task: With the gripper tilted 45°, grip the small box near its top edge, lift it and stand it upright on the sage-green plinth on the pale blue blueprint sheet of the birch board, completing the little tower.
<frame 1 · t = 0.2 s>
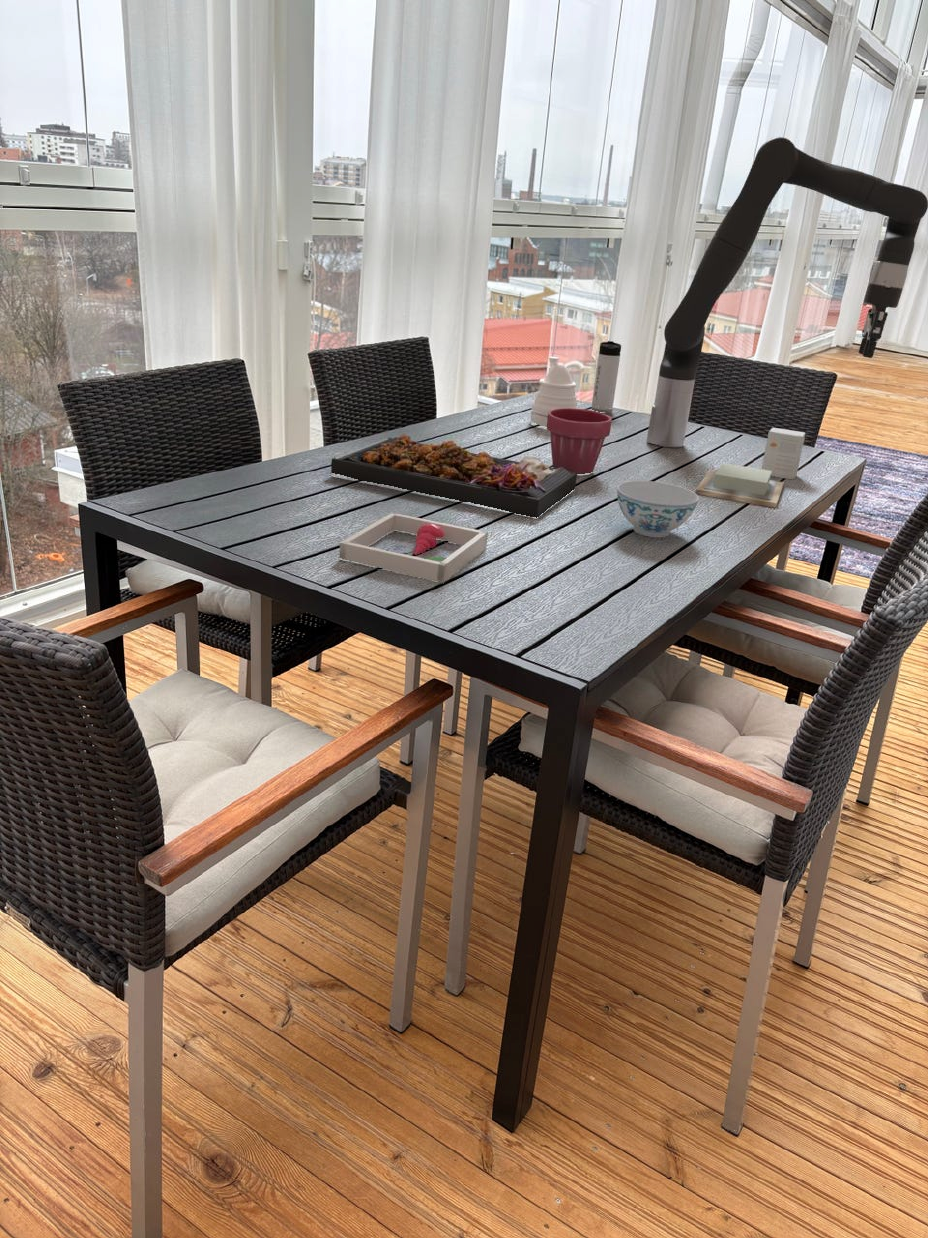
hand: (864, 355, 226), 28 cm above the table, tool pointing down, fingers open, 8 cm apart
travel mug: (601, 412, 284), on the table
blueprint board: (740, 489, 212), on the table
plant pot: (572, 471, 216), on the table
food platter: (454, 487, 199), on the table
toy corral: (415, 554, 157), on the table
toy pieces: (415, 557, 157), resting in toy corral
chinaware: (651, 532, 179), on the table
small box: (778, 475, 229), on the table
plinth: (742, 479, 211), on the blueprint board, point 2 cm above the table
honey pot: (553, 426, 260), on the table
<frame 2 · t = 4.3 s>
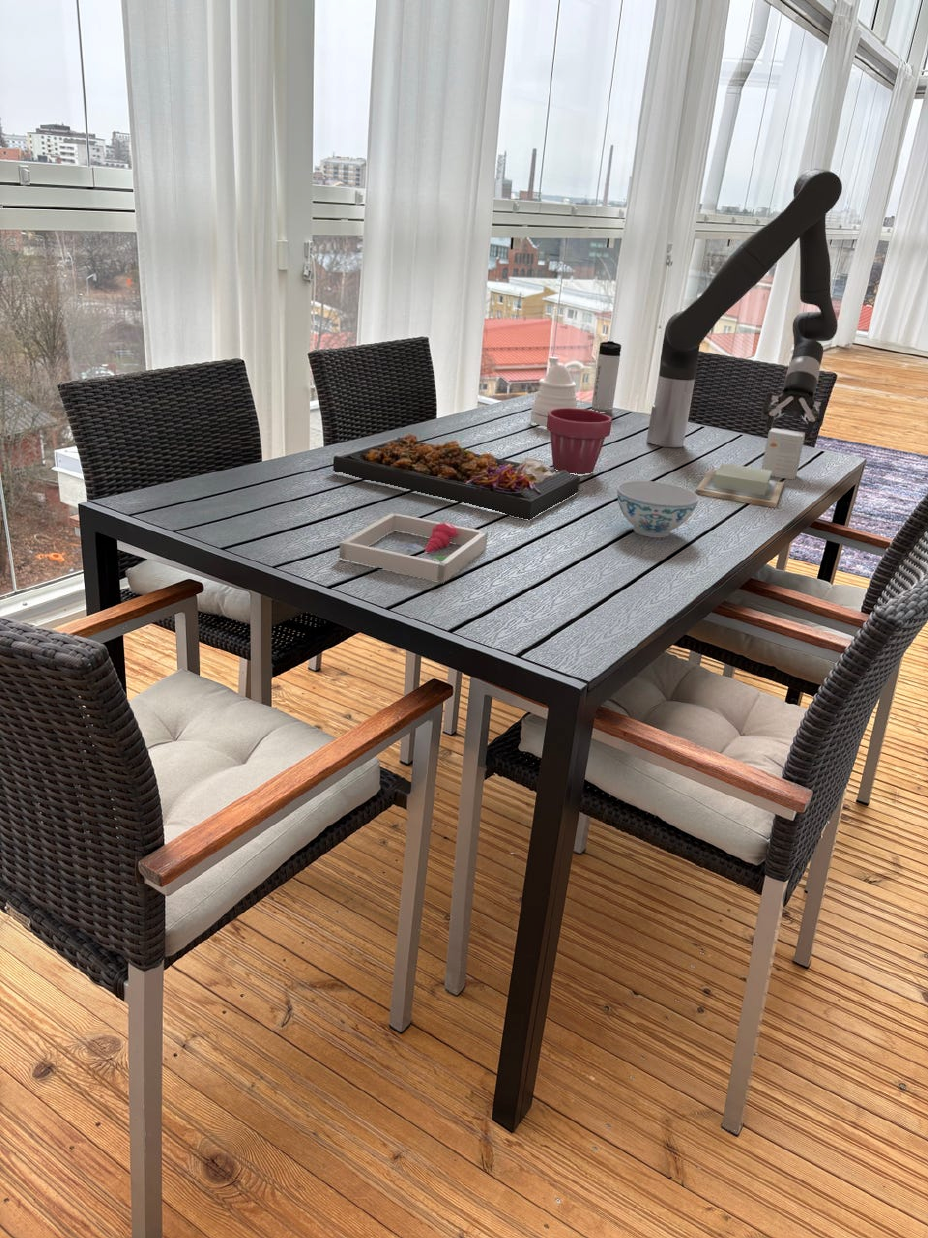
hand: (787, 434, 227), 9 cm above the table, tool tilted 45°, fingers open, 8 cm apart
toy pieces: (426, 555, 159), resting in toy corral
small box: (778, 475, 229), on the table, touching gripper
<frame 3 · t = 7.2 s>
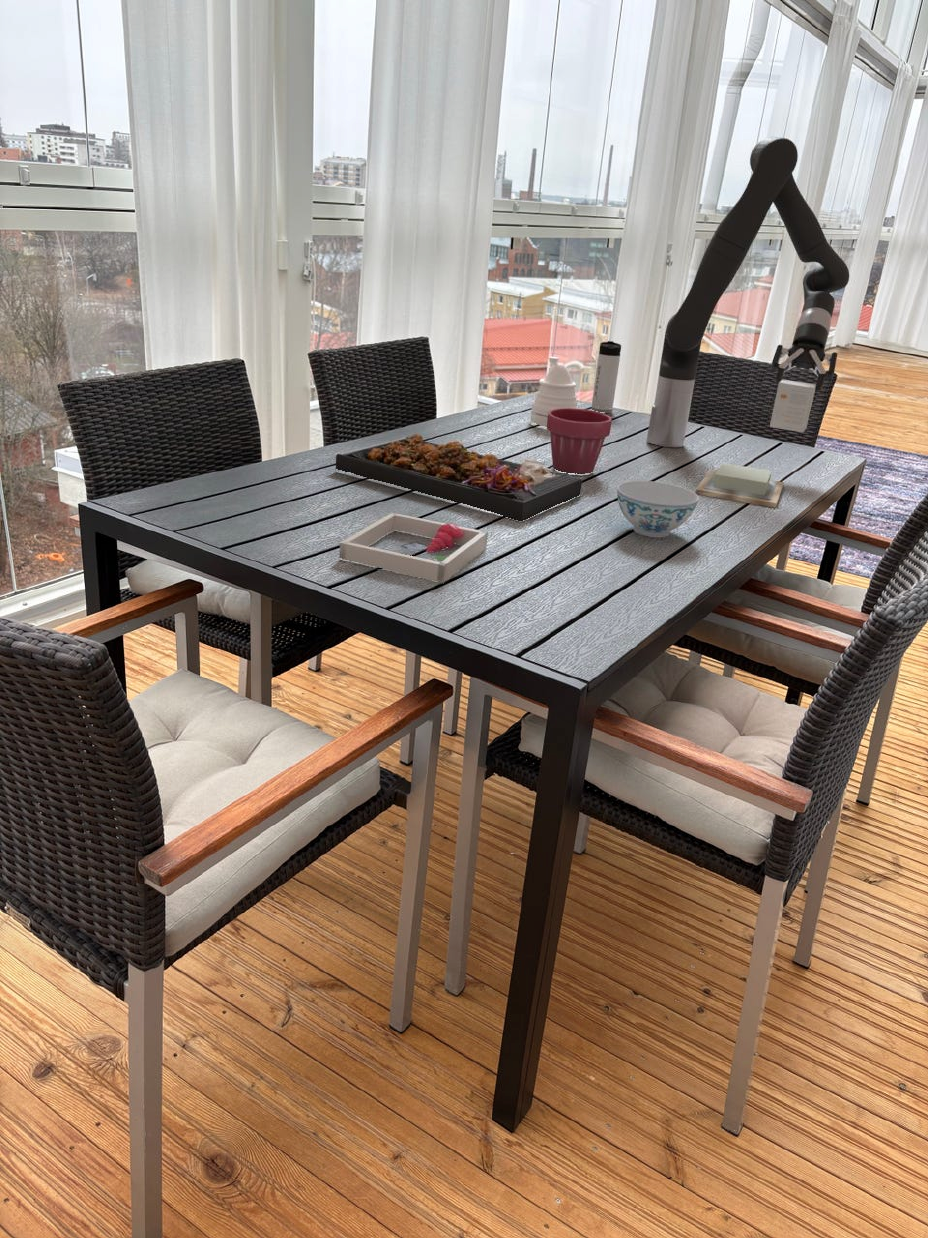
hand: (797, 387, 222), 21 cm above the table, tool tilted 45°, fingers closed on small box, 8 cm apart
small box: (787, 428, 224), point 11 cm above the table, touching gripper
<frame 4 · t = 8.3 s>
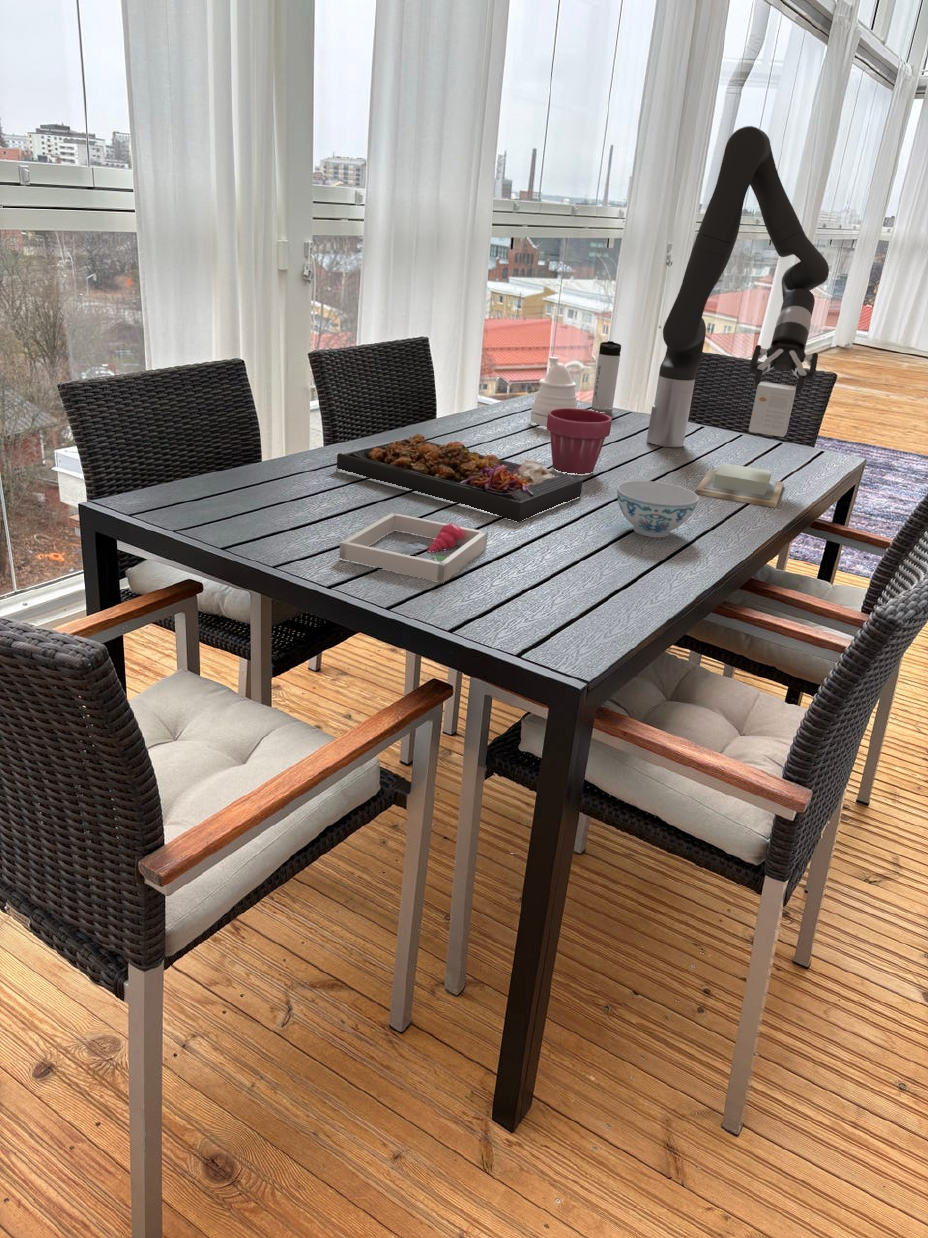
hand: (777, 389, 212), 21 cm above the table, tool tilted 45°, fingers closed on small box, 8 cm apart
toy pieces: (429, 554, 159), resting in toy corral
small box: (767, 433, 214), point 12 cm above the table, touching gripper
when the fingers open (14 cm above the table, at t = 11.9 s): small box drops 1 cm, resting on plinth.
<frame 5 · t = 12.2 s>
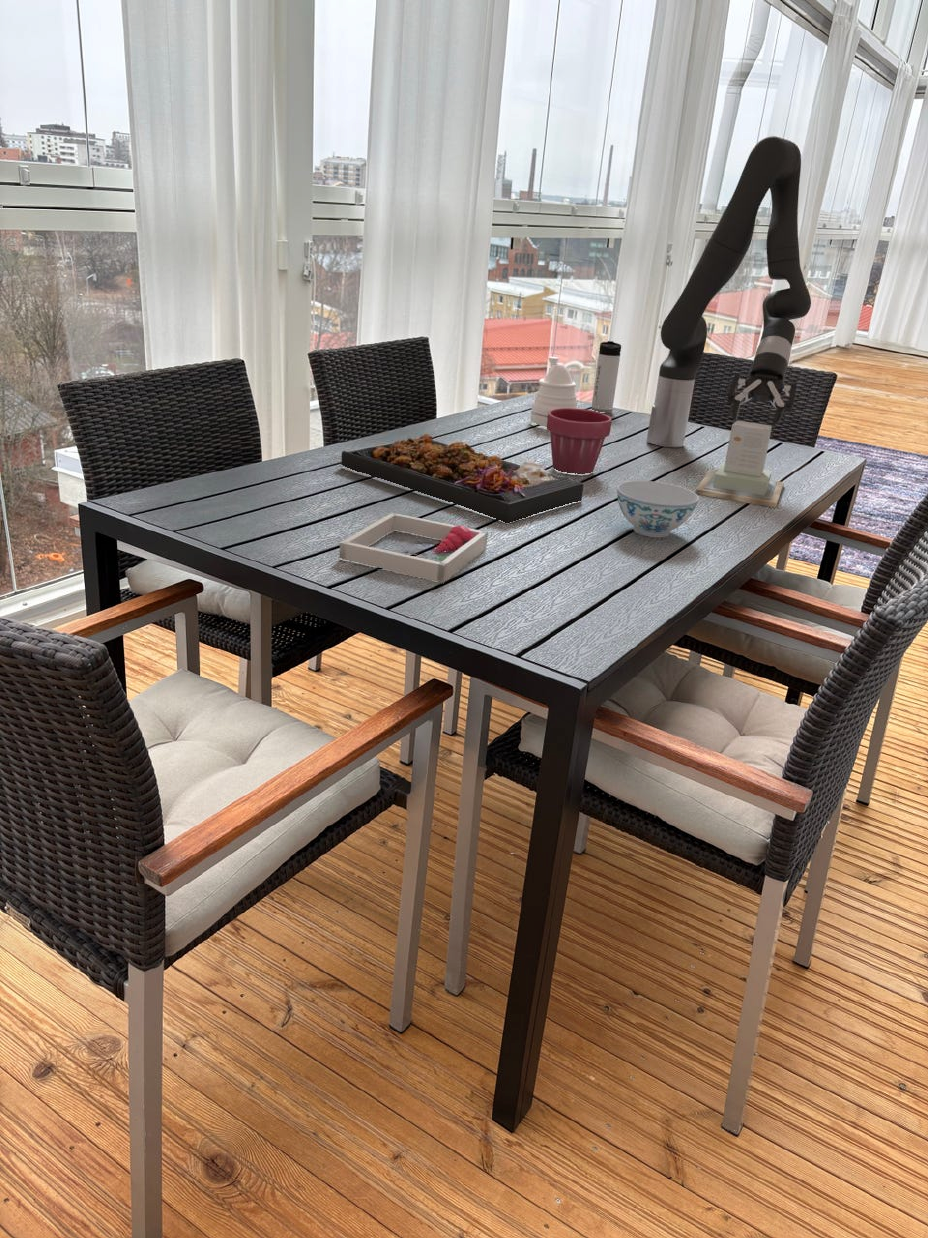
hand: (754, 420, 209), 15 cm above the table, tool tilted 45°, fingers open, 8 cm apart
toy pieces: (435, 555, 159), resting in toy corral
small box: (742, 472, 212), point 4 cm above the table, touching plinth
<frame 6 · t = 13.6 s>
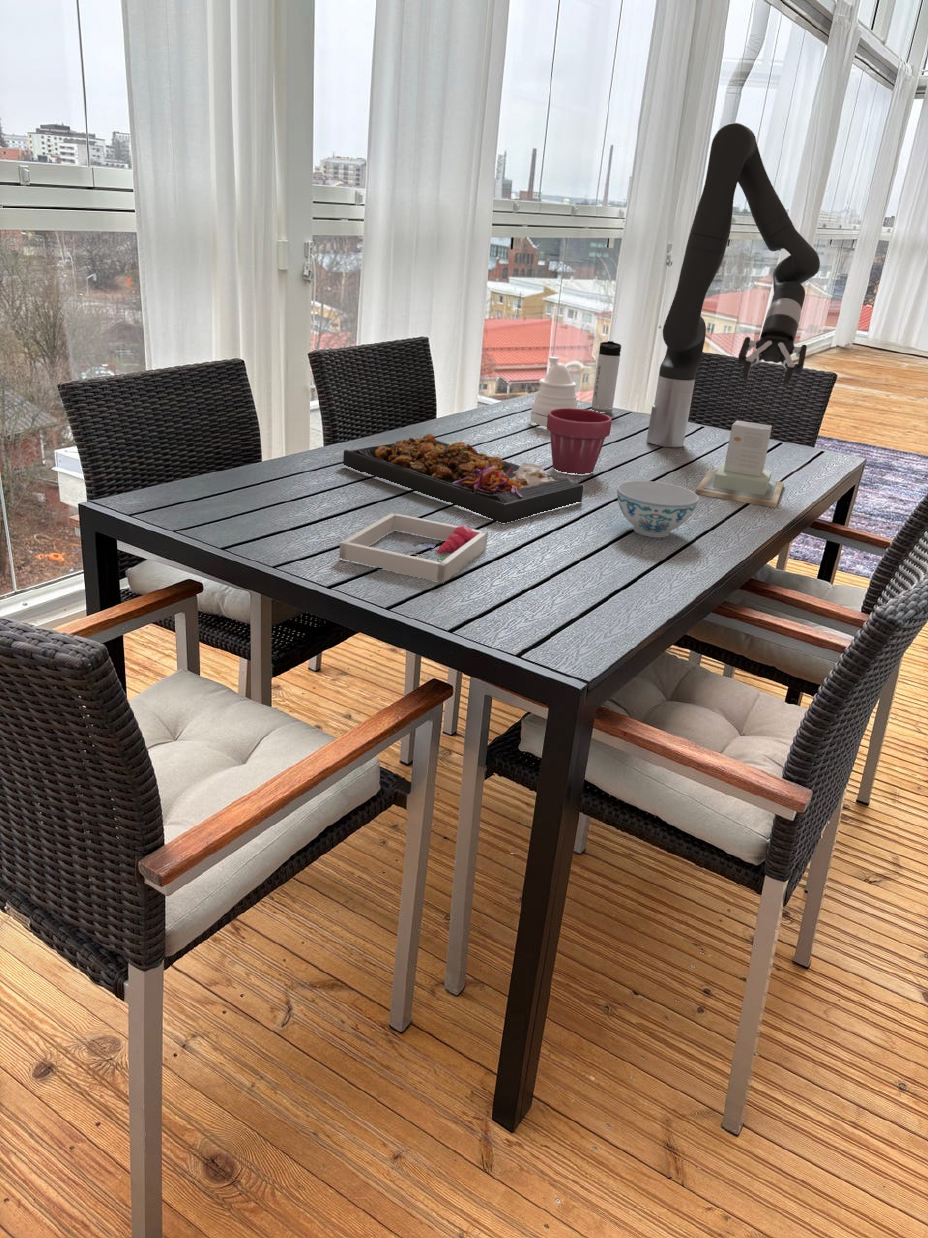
hand: (765, 381, 212), 23 cm above the table, tool tilted 45°, fingers open, 8 cm apart
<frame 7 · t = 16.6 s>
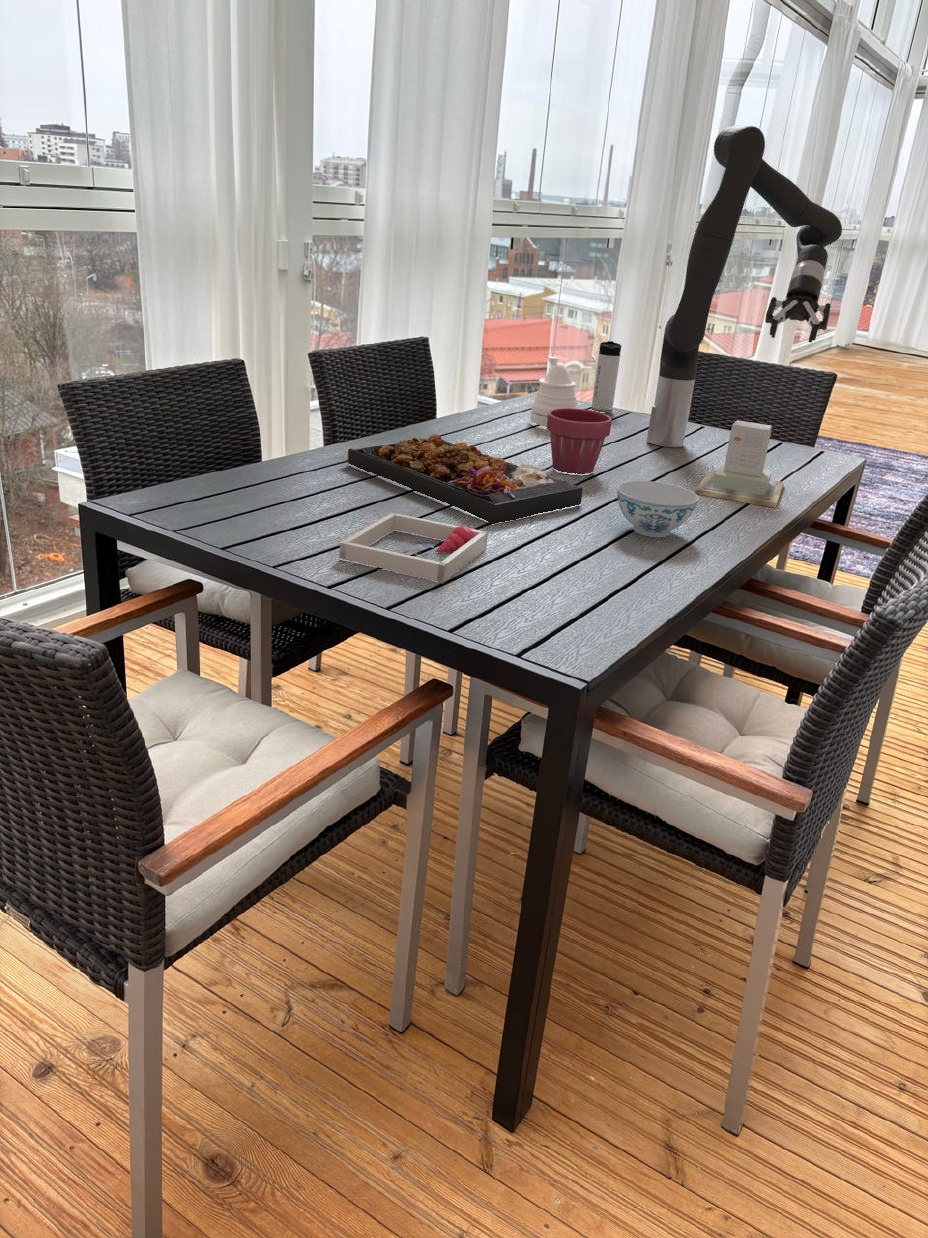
hand: (791, 337, 225), 31 cm above the table, tool tilted 45°, fingers open, 8 cm apart
at the end: small box 0.9 cm off-centre on the plinth, point 3.8 cm above the plinth's base; small box tilted 0°; the gripper is holding nothing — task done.
